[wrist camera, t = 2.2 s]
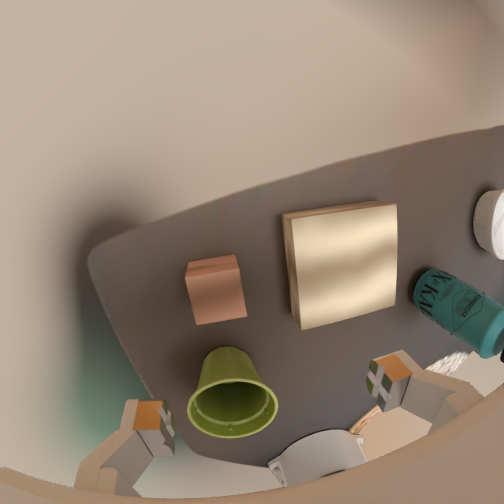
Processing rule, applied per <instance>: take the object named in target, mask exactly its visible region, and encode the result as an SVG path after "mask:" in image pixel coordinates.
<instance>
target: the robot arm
mask: <svg viewBox="0 0 504 504" xmlns="http://www.w3.org/2000/svg"><path fill="white" fill-rule="evenodd" d="M369 369H370V370H371V371H370V372H369V374H368V375H367V379H366V384H367V388H368V391H369V393H370V394H371V395H372V396H374V397H376V398H377V400H376V403H377V404H378V406H379V407H380V409H381V410H382V412H386V411H389V410H391V409H394V408H397V407H399V406H400V407H401V408H403V409H405V410H407V411H409V412H411V413H413V414H415V415H416V416H418V417H421V418H423V419H425V420H426V421H429V422H431V423H432V426H431V428H430V430H429V432H428V434H427V435H425V436H423V437H422V438H420V439H418V440H416V441H414V442H412V443H410V444H408V445H406V446H404V447H401V448H399V449H397V450H395V451H393V452H391V453H388V454H386V455H384V456H381V457H379V458H377V459H374V460H372V461H369V462H367V460H366V458H365V455H364V453H363V451H362V449H361V446H362V444H363V442H364V437H363V435H353V434H351V433H349V432H348V431H345V430H327V431H322V432H318V433H315V434H312V435H310V436H307V437H305V438H303V439H301V440H299V441H297V442H295V443H294V444H292V445H291V446H289V447H288V448H287V449H286V450H285V451H284V452H283V453H282V454H281V455H280V456H278V457H276V458H275V459H273V460H271V461H270V462H268V467H269V469H270V470H271V471H272V473H273V474H274V475H275V476H276V478H277V479H278V480H279V482H281V484H282V485H283V486H284V487H283V488H277V489H272V490H267V491H261V492H255V493H248V494H241V495H233V496H223V497H209V498H185V499H166V498H143V497H142V496H141V495H139V494H138V493H137V491H135V489H133V487H132V486H133V485H134V484H135V483H136V481H137V480H138V478H139V477H140V476H141V474H142V473H143V472H144V470H145V469H146V468H147V466H148V465H149V463H150V462H151V461H152V459H153V457H163V456H174V449H175V442H174V440H173V439H172V437H173V436H174V435H175V423H174V419H173V415H172V413H171V412H170V411H168V404H167V402H166V399H137V400H135V399H133V400H132V399H131V400H129V399H128V400H127V401H126V403H125V408H124V412H123V416H122V421H121V425H120V430H115V431H114V432H113V433H112V434H111V435H110V436H109V437H108V438H107V439H106V440H105V441H103V442H102V443H101V444H100V445H99V446H98V447H97V448H96V449H95V450H94V451H92V452H91V453H90V454H89V455H88V456H87V457H86V458H85V459H84V460H82V461H81V462H80V464H79V468H78V472H77V476H76V480H75V484H74V488H72V487H68V486H64V485H60V484H56V483H52V482H48V481H45V480H41V479H38V478H35V477H32V476H29V475H25V474H23V473H20V472H17V471H14V470H12V469H9V468H6V467H1V468H0V504H504V383H503V384H502V385H501V386H500V387H498V388H497V389H496V390H494V391H493V392H492V393H490V394H489V395H488V396H486V397H485V398H484V397H483V396H482V395H481V394H480V393H479V392H478V391H477V390H476V389H475V388H474V387H473V386H472V385H471V384H470V383H469V382H466V381H463V380H459V379H456V378H452V377H449V376H446V375H442V374H439V373H436V372H433V371H429V370H426V369H425V370H422V369H421V368H420V367H419V366H418V365H417V364H416V362H415V361H414V360H413V359H412V358H411V357H410V356H409V355H408V354H407V353H406V352H405V351H404V350H399V351H396V352H394V353H391V354H388V355H385V356H382V357H379V358H376V359H373V360H371V362H370V364H369Z"/></svg>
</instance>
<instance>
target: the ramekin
mask: <svg viewBox="0 0 504 504" xmlns="http://www.w3.org/2000/svg"><path fill="white" fill-rule="evenodd" d="M473 230H474V235H475V238H476V240H477V242H478V244H479V245H480V246H481V247H482V248H484V249H485V250H487V251H488V252H490V253H492V254H493V255H494V256H495V257H496V258H498V259H501V260H504V189H502V190H495V191H488V192H486V193H484V194H483V195H482V196H481V197H480V199H479V200H478V202H477V205H476V208H475V211H474V217H473Z"/></svg>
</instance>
